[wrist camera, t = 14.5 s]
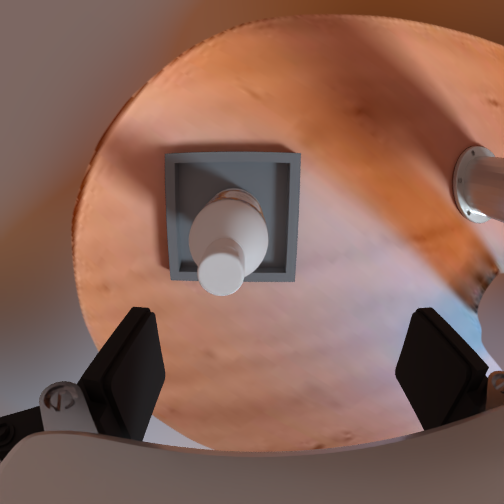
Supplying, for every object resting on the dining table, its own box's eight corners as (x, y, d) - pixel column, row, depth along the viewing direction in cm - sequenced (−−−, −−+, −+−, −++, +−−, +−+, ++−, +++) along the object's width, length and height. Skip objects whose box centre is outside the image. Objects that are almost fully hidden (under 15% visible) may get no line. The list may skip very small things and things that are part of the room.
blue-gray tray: (297, 153, 35) (300, 153, 33) (292, 274, 40) (294, 281, 38) (170, 154, 35) (164, 153, 33) (175, 273, 40) (170, 280, 37)
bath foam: (271, 201, 36) (298, 248, 17) (248, 250, 38) (248, 339, 19) (220, 178, 35) (188, 199, 16) (198, 228, 37) (151, 298, 18)
